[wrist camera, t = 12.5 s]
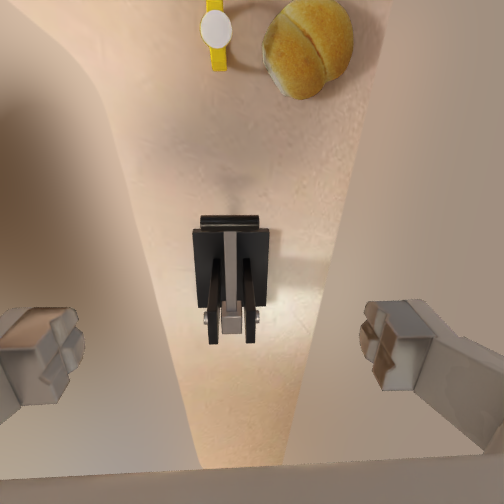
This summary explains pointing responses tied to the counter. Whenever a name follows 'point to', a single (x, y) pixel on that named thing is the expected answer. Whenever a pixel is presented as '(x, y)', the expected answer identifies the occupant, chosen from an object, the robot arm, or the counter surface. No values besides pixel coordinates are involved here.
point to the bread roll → (307, 46)
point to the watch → (216, 33)
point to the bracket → (248, 276)
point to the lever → (230, 262)
